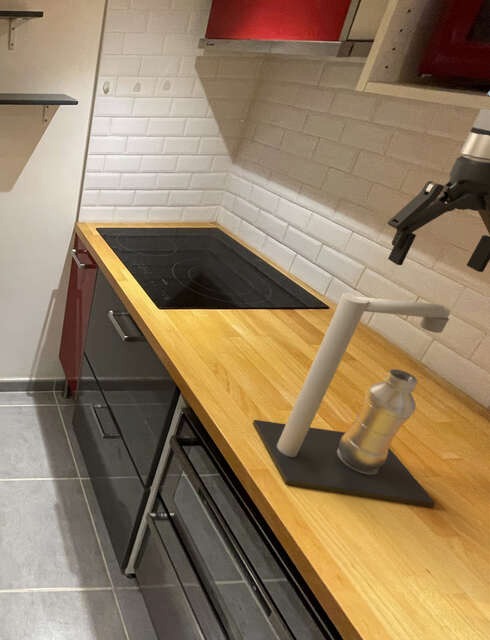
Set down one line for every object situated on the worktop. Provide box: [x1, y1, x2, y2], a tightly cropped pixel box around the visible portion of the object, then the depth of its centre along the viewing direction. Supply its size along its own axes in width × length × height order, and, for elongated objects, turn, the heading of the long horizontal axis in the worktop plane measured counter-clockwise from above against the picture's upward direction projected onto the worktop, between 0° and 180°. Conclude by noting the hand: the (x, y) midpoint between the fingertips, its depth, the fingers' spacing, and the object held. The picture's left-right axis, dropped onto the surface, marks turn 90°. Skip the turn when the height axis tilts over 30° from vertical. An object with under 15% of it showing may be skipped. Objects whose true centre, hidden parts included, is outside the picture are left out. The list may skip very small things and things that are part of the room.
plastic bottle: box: [339, 368, 418, 470], centre depth 79 cm, size 6×7×20 cm
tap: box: [252, 292, 451, 509], centre depth 77 cm, size 23×14×35 cm, turn 80°
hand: (433, 265), depth 87 cm, fingers open, 13 cm apart
